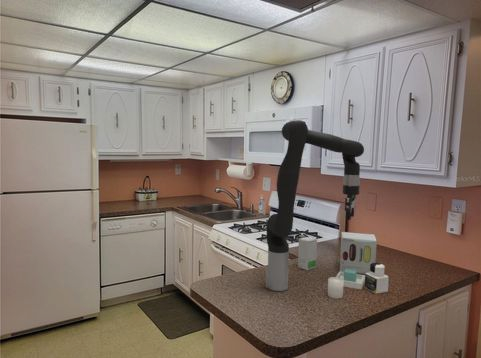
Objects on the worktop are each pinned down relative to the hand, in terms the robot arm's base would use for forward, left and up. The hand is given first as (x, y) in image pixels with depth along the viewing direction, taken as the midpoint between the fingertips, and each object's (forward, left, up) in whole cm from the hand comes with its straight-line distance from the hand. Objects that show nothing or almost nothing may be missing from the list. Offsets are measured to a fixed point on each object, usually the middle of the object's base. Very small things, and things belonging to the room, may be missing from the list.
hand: (349, 218), depth 169 cm
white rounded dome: (-1, -22, -30) cm, 37 cm away
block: (+2, -4, -30) cm, 30 cm away
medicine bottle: (+14, -7, -30) cm, 34 cm away
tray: (+2, -4, -30) cm, 30 cm away
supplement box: (+2, +17, -30) cm, 35 cm away
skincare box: (-22, +7, -30) cm, 38 cm away
